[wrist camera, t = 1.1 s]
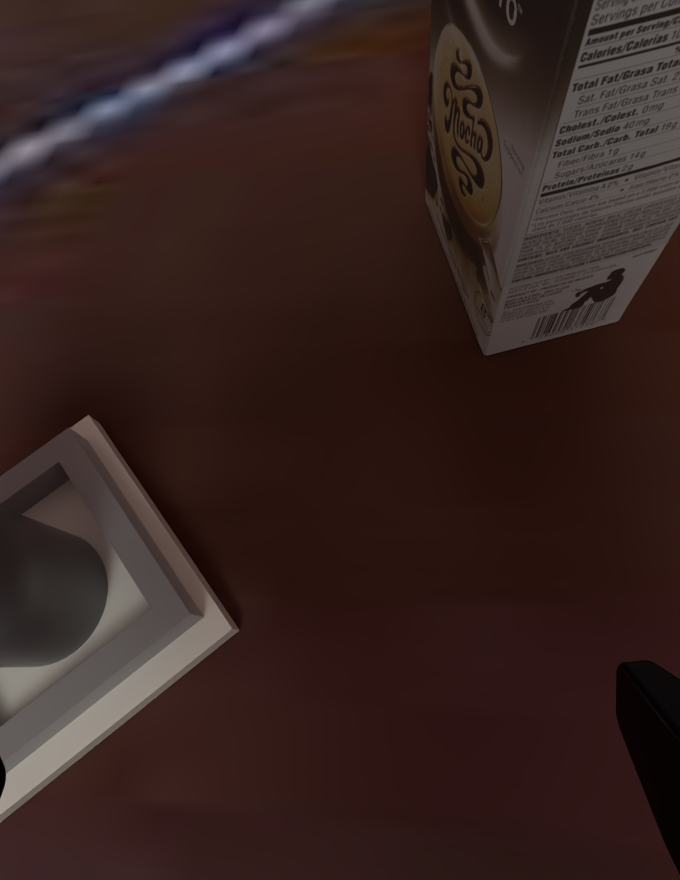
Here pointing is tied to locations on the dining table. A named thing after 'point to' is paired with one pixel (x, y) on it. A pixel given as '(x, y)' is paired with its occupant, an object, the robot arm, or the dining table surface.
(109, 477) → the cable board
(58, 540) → the grey cylinder
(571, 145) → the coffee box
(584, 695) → the dining table surface
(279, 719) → the dining table surface
